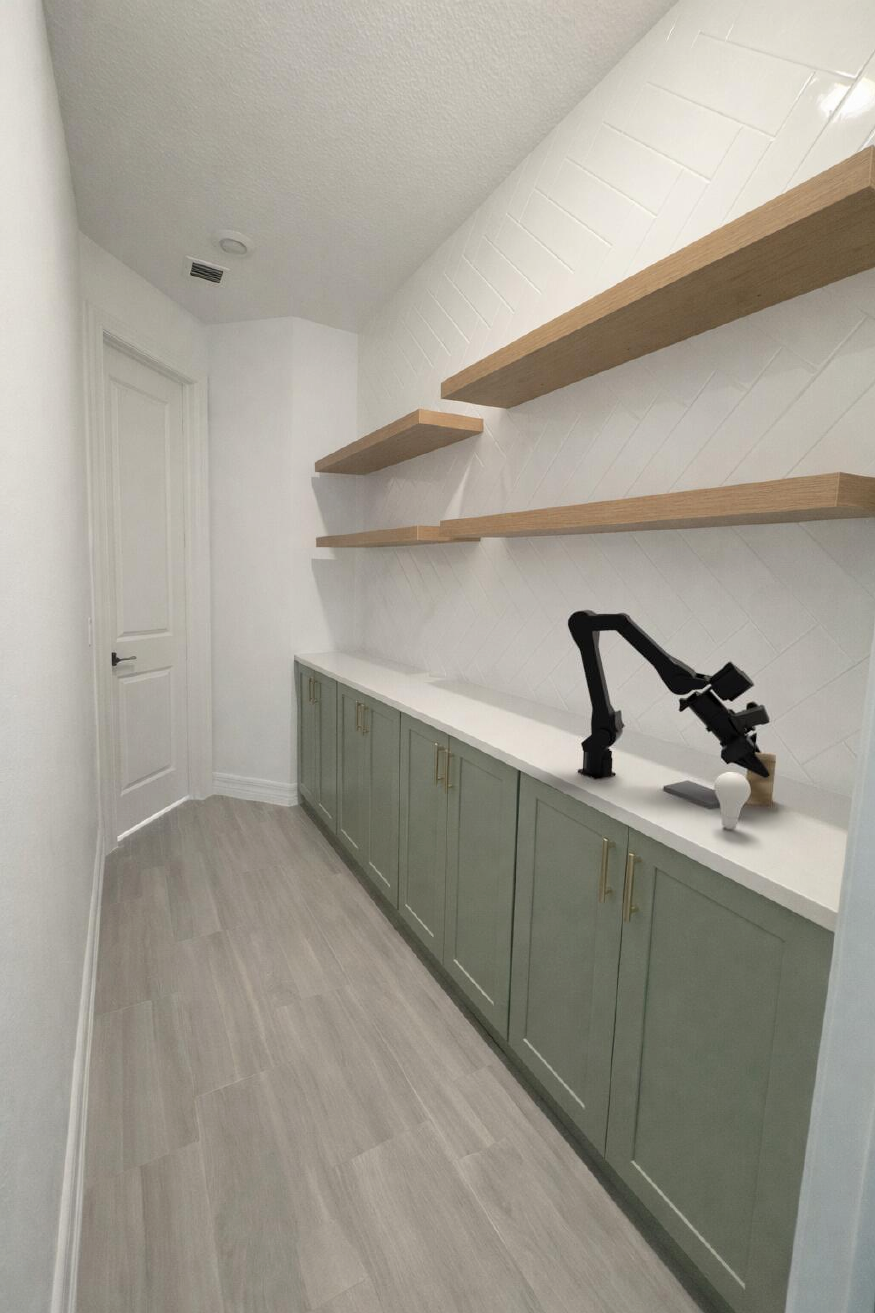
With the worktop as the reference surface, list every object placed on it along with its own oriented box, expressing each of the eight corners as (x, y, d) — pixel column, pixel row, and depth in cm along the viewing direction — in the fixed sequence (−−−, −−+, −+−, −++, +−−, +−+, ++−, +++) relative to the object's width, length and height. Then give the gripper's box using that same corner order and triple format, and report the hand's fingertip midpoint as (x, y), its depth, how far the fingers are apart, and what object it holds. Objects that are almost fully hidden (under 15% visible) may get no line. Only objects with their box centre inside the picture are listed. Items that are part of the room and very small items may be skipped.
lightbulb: (727, 837, 109) (732, 779, 107) (703, 824, 115) (708, 768, 113) (754, 834, 110) (759, 776, 109) (730, 820, 116) (734, 766, 115)
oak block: (744, 803, 125) (748, 757, 124) (745, 795, 130) (749, 751, 128) (771, 808, 123) (775, 761, 122) (771, 800, 127) (775, 755, 126)
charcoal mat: (663, 790, 133) (663, 786, 132) (687, 784, 136) (687, 780, 136) (710, 809, 122) (711, 804, 122) (735, 802, 126) (735, 797, 126)
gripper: (744, 699, 117) (804, 763, 113) (747, 684, 133) (800, 739, 129) (697, 733, 122) (754, 795, 118) (706, 714, 138) (756, 768, 134)
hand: (768, 772), depth 125 cm, fingers closed on oak block, 5 cm apart
